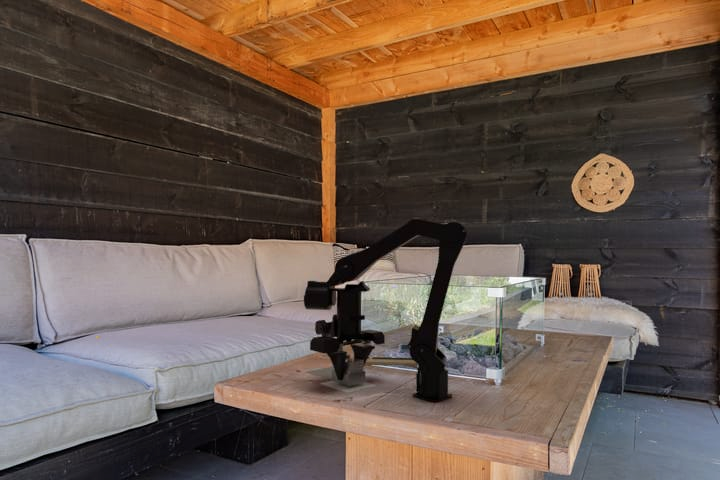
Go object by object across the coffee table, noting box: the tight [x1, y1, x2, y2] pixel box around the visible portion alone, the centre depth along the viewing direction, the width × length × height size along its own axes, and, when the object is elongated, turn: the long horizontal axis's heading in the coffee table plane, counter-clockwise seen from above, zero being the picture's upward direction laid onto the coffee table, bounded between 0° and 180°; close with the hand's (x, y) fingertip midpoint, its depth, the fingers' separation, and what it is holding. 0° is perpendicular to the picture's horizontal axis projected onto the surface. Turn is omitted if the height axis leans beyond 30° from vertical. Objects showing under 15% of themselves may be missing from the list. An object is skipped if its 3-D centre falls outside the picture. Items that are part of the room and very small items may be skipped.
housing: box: [331, 354, 366, 386], centre depth 111 cm, size 5×6×6 cm
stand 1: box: [306, 366, 334, 381], centre depth 121 cm, size 10×9×2 cm
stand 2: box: [319, 380, 378, 394], centre depth 111 cm, size 10×9×2 cm
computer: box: [364, 356, 419, 370], centre depth 134 cm, size 16×8×3 cm, turn 88°
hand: (348, 378), depth 111 cm, fingers closed on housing, 5 cm apart
